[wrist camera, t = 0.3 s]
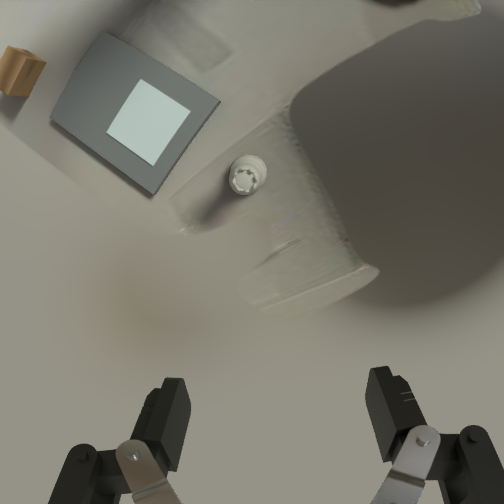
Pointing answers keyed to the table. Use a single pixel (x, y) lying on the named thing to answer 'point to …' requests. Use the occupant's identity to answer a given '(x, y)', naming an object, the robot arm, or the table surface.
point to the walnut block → (19, 71)
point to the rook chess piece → (247, 174)
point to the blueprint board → (132, 110)
